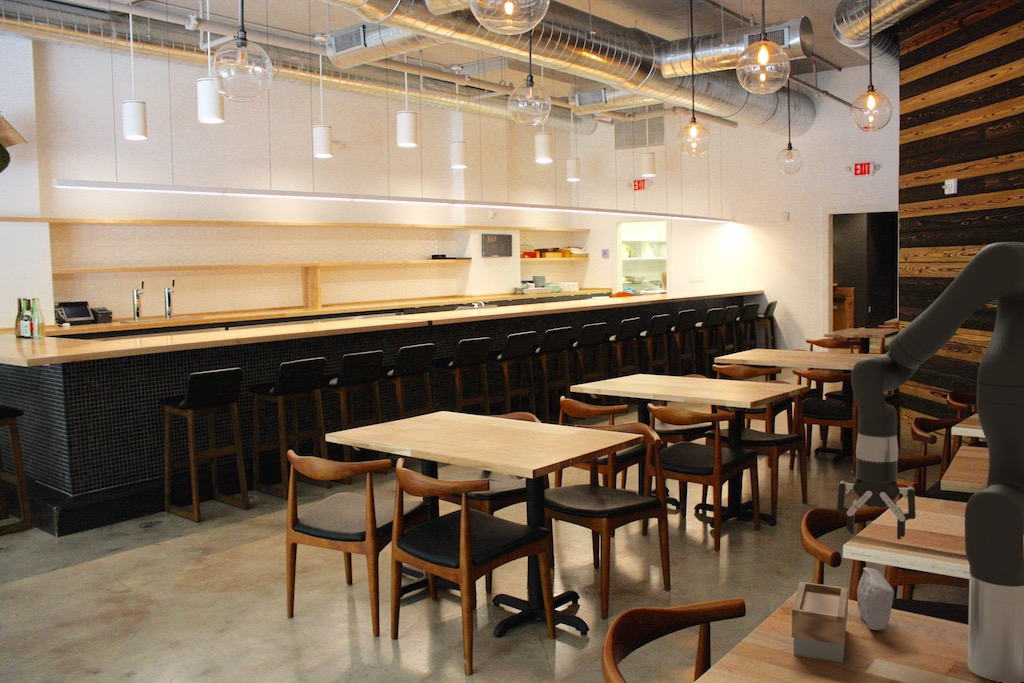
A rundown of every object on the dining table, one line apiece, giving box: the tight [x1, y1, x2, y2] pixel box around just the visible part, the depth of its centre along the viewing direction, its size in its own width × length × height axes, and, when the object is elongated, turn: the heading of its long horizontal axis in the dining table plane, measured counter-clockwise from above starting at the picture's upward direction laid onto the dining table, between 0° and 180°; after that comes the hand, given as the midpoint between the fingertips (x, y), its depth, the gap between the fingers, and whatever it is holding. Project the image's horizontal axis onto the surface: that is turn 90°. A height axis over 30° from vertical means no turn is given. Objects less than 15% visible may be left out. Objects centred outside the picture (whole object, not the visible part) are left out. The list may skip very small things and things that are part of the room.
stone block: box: [856, 566, 895, 631], centre depth 163 cm, size 12×5×10 cm, turn 168°
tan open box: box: [791, 581, 849, 646], centre depth 155 cm, size 9×15×5 cm, turn 155°
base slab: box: [793, 637, 846, 663], centre depth 155 cm, size 8×15×4 cm, turn 156°
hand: (875, 535), depth 162 cm, fingers open, 8 cm apart
